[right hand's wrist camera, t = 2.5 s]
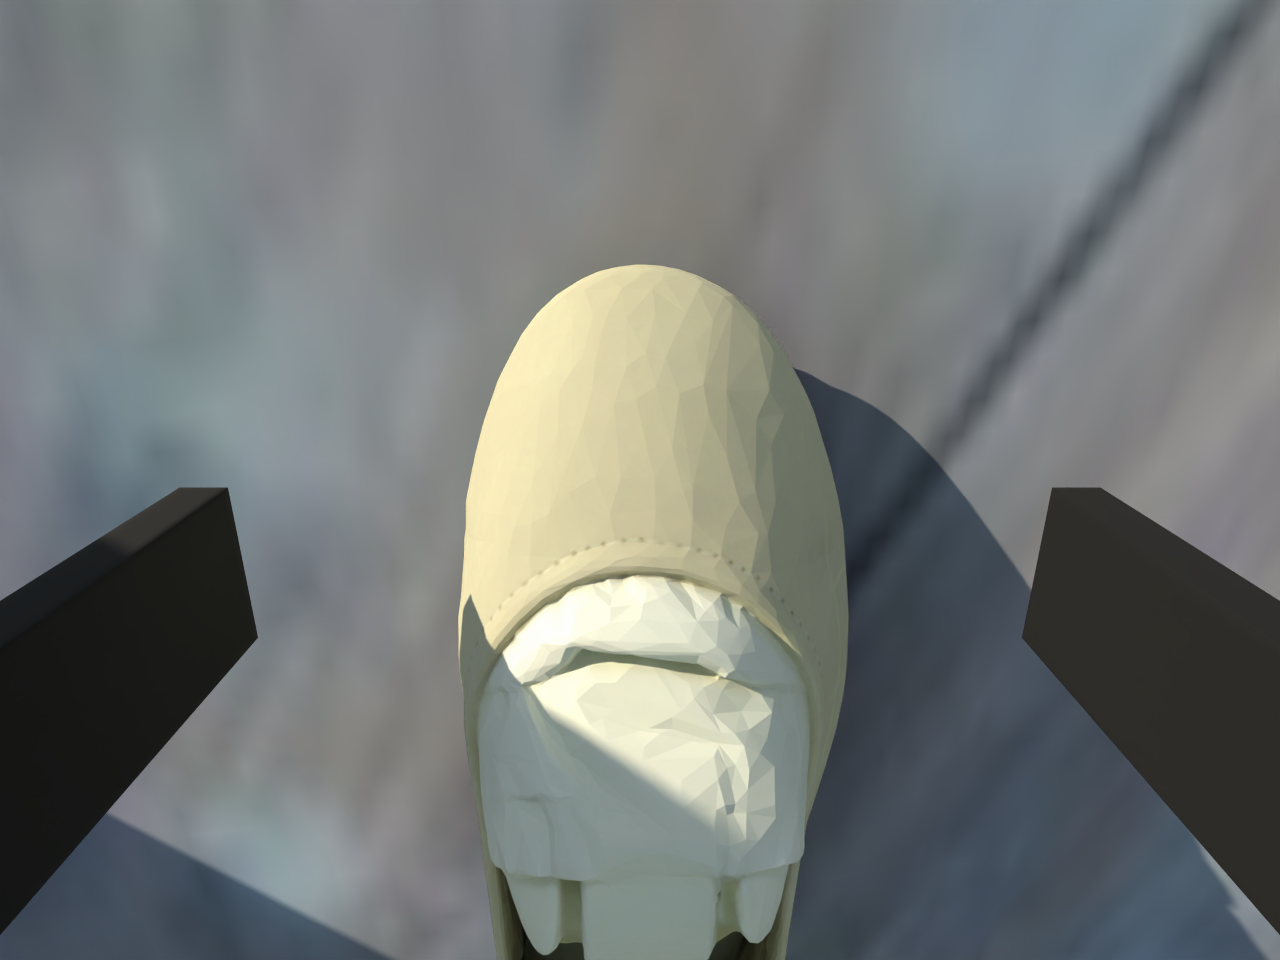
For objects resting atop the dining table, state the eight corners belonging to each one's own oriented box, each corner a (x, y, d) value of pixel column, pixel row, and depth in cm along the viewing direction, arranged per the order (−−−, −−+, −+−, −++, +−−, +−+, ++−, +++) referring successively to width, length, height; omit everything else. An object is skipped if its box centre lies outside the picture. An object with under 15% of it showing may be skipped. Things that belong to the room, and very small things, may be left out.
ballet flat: (866, 259, 15) (1071, 326, 8) (783, 1068, 24) (843, 1465, 17) (449, 258, 15) (261, 324, 8) (518, 1064, 24) (459, 1456, 17)
